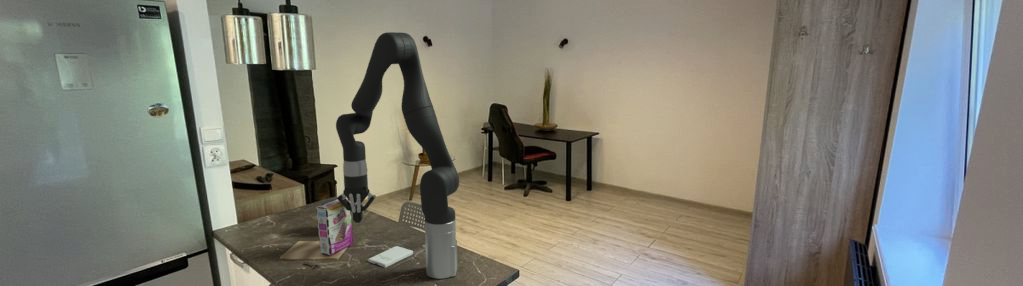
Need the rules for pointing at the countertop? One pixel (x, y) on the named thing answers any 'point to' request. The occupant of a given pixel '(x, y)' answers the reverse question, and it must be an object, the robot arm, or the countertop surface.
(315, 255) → the cork mat
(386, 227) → the countertop surface
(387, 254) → the external hard drive
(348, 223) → the candy bar box
